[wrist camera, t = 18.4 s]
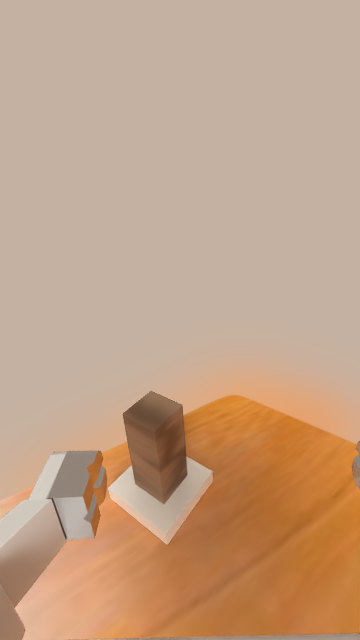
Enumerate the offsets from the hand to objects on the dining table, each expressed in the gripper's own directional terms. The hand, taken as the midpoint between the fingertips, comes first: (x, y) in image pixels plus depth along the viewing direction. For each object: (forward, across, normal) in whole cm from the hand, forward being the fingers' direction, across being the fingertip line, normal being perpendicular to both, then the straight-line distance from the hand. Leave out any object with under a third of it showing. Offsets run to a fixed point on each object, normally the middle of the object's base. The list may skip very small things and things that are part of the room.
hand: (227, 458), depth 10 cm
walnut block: (+21, +6, +28) cm, 36 cm away
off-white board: (+21, +6, +30) cm, 37 cm away
